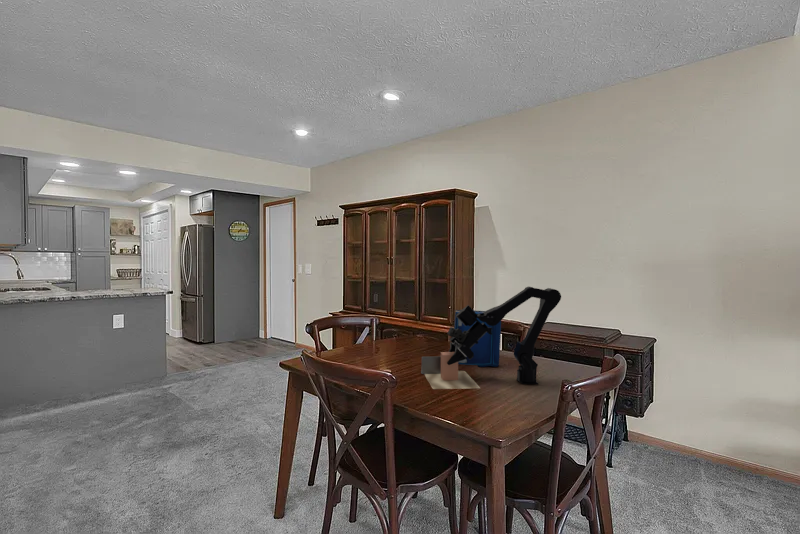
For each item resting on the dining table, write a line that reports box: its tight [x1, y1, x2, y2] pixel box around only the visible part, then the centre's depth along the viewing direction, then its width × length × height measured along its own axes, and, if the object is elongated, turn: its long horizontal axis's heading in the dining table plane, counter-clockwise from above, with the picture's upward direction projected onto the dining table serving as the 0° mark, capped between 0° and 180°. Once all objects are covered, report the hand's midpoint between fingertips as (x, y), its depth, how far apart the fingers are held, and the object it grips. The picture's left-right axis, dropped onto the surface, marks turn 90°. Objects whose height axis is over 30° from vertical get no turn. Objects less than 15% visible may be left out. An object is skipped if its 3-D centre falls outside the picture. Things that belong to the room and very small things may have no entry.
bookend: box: [420, 355, 441, 375], centre depth 177 cm, size 12×3×7 cm, turn 96°
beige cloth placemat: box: [424, 370, 481, 390], centre depth 168 cm, size 18×24×1 cm
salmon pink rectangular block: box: [440, 351, 459, 380], centre depth 169 cm, size 6×5×10 cm
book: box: [453, 309, 502, 368], centre depth 194 cm, size 22×7×25 cm, turn 84°
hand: (446, 362), depth 169 cm, fingers open, 6 cm apart
